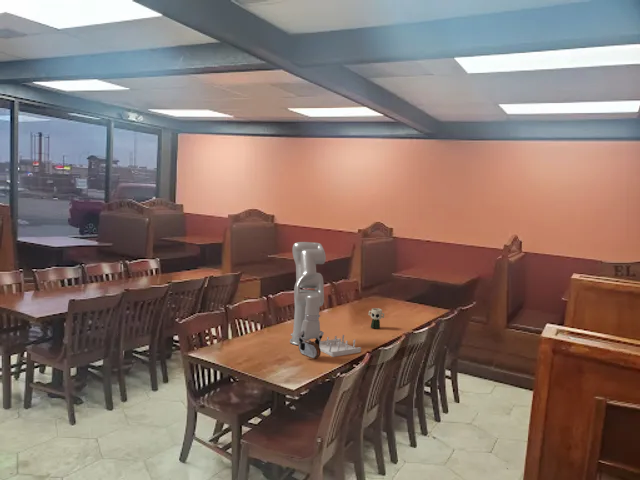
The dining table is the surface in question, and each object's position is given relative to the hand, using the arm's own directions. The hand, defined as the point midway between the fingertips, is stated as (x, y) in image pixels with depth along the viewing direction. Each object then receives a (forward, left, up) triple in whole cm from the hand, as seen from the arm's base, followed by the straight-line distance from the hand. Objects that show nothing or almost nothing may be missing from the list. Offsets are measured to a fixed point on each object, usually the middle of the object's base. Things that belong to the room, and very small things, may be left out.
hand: (309, 348), depth 279 cm
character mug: (-30, +77, -5) cm, 83 cm away
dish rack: (-4, +22, -5) cm, 23 cm away
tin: (-1, 0, -5) cm, 5 cm away
